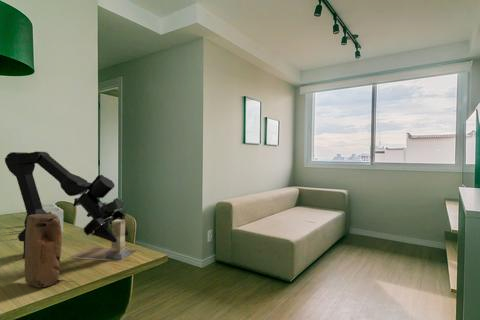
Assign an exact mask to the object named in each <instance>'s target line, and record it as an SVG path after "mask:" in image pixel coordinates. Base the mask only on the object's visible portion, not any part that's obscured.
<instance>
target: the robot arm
mask: <svg viewBox="0 0 480 320" xmlns="http://www.w3.org/2000/svg"><path fill="white" fill-rule="evenodd" d="M4 163H5V165H6V167H7V169H8V171H9V172H10V173H11V174H12V175H13V176H14V177H16V180H17V185H18V188H19V191H20V195H21V198H22V200H23V204H24V208H25V211H26V215H25V218H24V221H23V222H24V229H23V230H22V231H20V233H18V235H17V238H18V241H19V242H23V254H22V259H25V235H26V223H27V217H28V216H29V215H34V214H47V212H46V211H44V210H43V207H42V201H41V199H40V198H41V197H40V195H39V190H38V188H37V184H36V181H35V178H34V171H35V167H36V164H37V165H38V166H40V167H41V168H42V169H43V170H44V171H46V172H47V173H48V174H49V175H50V176H51V177H52V178H54V179H55V180H56V181H58V182H59V185H60V188H61V189H62V190H63V192H64V193H65V194H66V196H69V197H75V196H79V195H80V196H79V197H76V198H74V199H73V200H74V202H73V205H72V206H73V207H77V206H81V207H82V208H83V210H84V211H85V212H86V213H87V214H86V217H87V218H89V217H91V218H92V219H90V221H89V222H88V223H87V224H86V225H85V226H84V227H83V233H84V234H85V235H86V236H89V235H91V236H95V237H98V238H101V239H104V240H105V241H110V242H111V243H112V242H114V243H115V242H116V241H117V239H116V238H115V236H114V235H113V233H112V230H110V228H109V225H111V228H112V221H114V220H117V219H119V220H125V218H126V215H127V214H128V212H127V211H126V210H125V209H124V202H125V201H124V200H123V199H122V198H120V197H117V198H115V199H113V200H112V201H110V202H109V203H107V202H102V201H101V199H104V198H105V197H106V196H107V195H108V194H109V193H110V192H111V191H112V190H113V189H114V188H115V183H114V182H113V181H112V180H111V179H109V178H108V177H106V176H104V175H103V174H98V175H97V176H96V178H95V179H94V180H93V181H92V182H89V181H87V180H86V179H85V178H83V177H82V176H79V175H76V174H73V173H71V172H70V171H69V170H68V169H66V168H65V167H64V166H63V165H61V164H60V163H59V162H58V161H57V160H56V159H54V158H53V157H52V156H51V155H50V154H49V152H47V151H33V152H22V151H21V152H19V151H18V152H17V151H16V152H14V151H12V152H9V153H8V154H6V156H5V158H4ZM48 213H51V212H48ZM51 214H52V213H51ZM127 228H128V227H126V225H125V237H128V236H129V234H130V233H129V231H128V229H127Z"/></svg>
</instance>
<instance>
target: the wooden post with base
mask: <svg viewBox="0 0 480 320" xmlns="http://www.w3.org/2000/svg"><path fill="white" fill-rule="evenodd" d="M111 226H112V227H111V232H112V233H113V235H114V236H115V238H116V239H117V241H116V242H115V243H114V242H112V241H111V248H112V250H110V251H108V252H107V253H106V256H105V259H116V260H122V259H124V258H125V257H126V256H128V255H129V254H130V250H131V248H129V247H128V248H126V236H125V226H126V219H124V220H119V219H117V220H114V221H112V224H111Z"/></svg>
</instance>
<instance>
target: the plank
mask: <svg viewBox="0 0 480 320" xmlns="http://www.w3.org/2000/svg"><path fill="white" fill-rule="evenodd" d="M110 250H112V247H110V248H109V247H97V246H96V247H95V246H89V247H87V248H85V249H82V250H81V251H79V252H77V253H75V254H72V255H71V256H69V257H68V259H77V260H93V261H105V262H106V261H107V262H119V263H121V262H123V261H124V260H126V259H127V258H129V257H130V256H132V255H133V254H135V253H136V252H137V251H138V249H130V254H129V255H128V256H126V257H125V258H124V259H122V260H116V259H105V256H106V253H107V252H108V251H110Z"/></svg>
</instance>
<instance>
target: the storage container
mask: <svg viewBox="0 0 480 320" xmlns="http://www.w3.org/2000/svg"><path fill="white" fill-rule="evenodd" d="M41 204H42V203H41ZM42 207H43V210H44V211H46V212H47V213H48V212H51V213H52V214H55V215H57V216H58V217H59V220H60V225H61V231H62V234H64V209H62V208H61V207H58V206H57V205H56V204H55V203H53V202H51V203H43V204H42Z"/></svg>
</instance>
